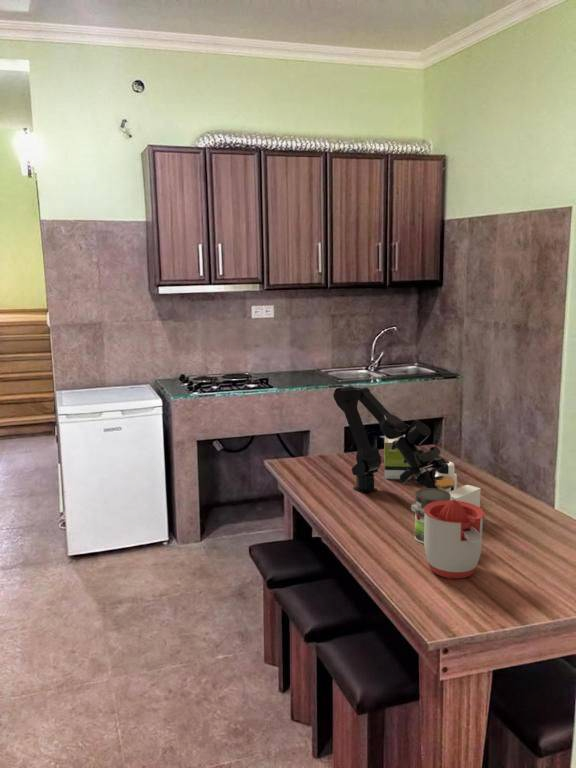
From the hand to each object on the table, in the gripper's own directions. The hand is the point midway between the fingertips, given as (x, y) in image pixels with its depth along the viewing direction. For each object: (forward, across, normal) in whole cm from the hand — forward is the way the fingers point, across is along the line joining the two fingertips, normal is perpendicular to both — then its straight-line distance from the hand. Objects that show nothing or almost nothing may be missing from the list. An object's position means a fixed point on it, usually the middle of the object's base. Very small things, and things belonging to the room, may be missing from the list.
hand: (437, 491), depth 220 cm
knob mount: (+7, 0, +4) cm, 8 cm away
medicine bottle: (-1, +16, +11) cm, 20 cm away
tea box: (-20, +23, +30) cm, 43 cm away
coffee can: (+13, -18, -2) cm, 22 cm away
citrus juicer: (+25, -31, -14) cm, 42 cm away
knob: (+5, 0, +2) cm, 6 cm away
